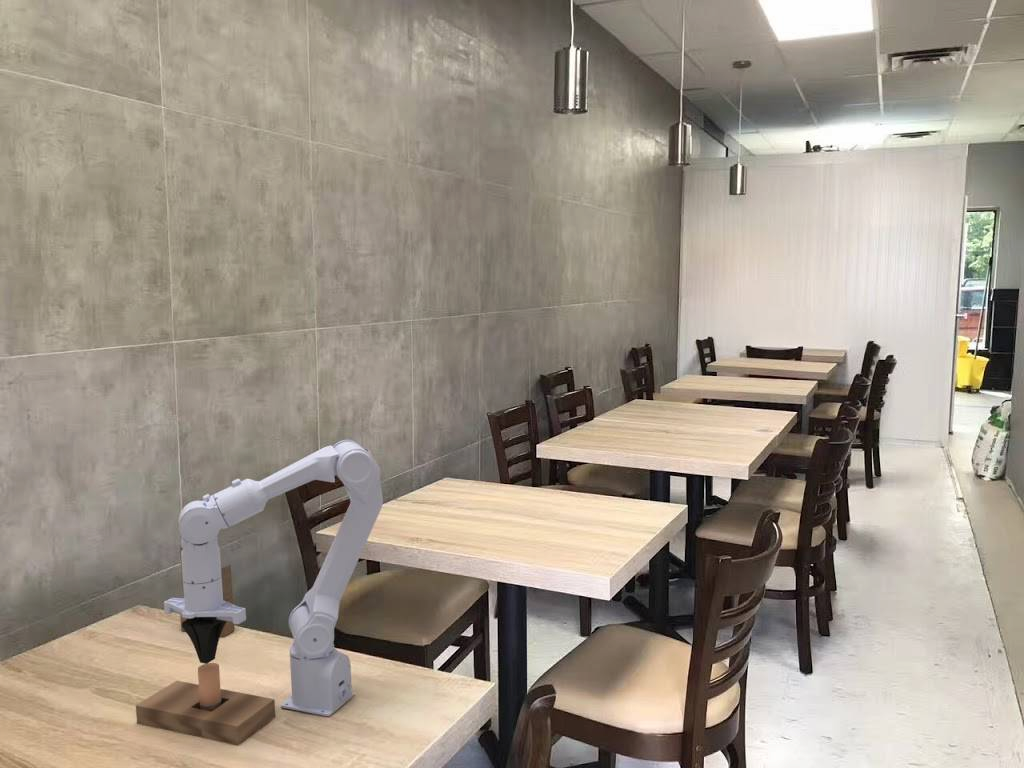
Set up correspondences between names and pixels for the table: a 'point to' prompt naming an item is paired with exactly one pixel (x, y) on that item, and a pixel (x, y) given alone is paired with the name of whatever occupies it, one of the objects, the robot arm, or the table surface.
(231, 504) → the robot arm
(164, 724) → the board
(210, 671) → the peg
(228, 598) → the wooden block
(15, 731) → the table surface
